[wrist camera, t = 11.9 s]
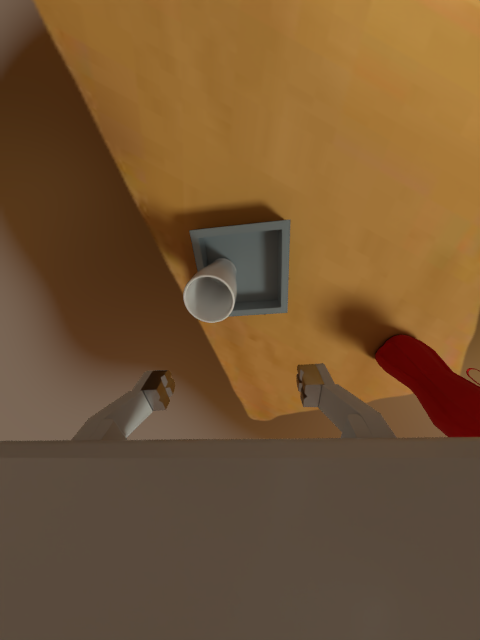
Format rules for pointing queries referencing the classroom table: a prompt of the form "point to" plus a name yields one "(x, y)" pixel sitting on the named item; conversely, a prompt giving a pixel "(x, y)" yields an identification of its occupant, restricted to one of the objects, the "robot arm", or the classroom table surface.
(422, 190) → the classroom table surface
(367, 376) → the classroom table surface
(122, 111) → the classroom table surface
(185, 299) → the drinking glass
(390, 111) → the classroom table surface
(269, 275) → the bin
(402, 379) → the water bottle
